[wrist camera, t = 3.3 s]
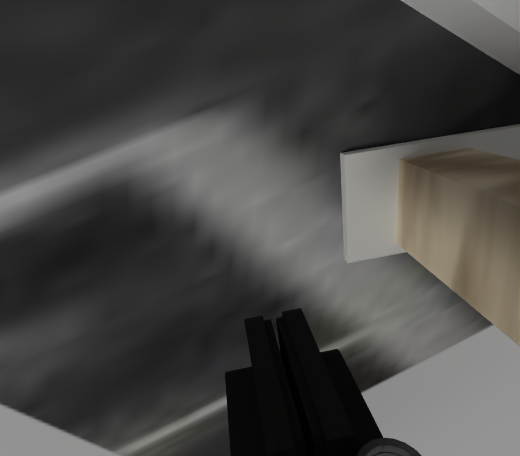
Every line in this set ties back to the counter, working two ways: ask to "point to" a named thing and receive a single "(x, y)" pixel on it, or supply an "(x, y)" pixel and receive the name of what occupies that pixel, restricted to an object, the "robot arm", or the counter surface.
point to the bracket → (480, 25)
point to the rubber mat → (386, 185)
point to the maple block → (466, 227)
